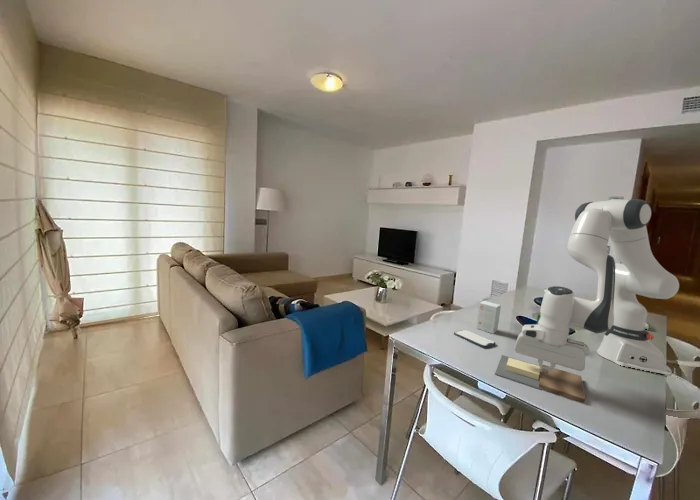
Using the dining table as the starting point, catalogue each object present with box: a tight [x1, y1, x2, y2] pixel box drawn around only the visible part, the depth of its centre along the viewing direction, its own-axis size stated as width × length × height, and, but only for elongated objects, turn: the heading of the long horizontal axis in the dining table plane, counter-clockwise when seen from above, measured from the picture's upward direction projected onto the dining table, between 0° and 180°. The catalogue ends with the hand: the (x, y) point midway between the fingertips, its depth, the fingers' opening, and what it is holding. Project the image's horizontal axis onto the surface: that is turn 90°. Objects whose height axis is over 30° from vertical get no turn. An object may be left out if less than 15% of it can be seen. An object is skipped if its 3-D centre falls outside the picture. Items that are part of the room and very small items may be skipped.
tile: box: [506, 357, 540, 380], centre depth 109 cm, size 10×7×2 cm
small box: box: [475, 300, 502, 334], centre depth 147 cm, size 8×6×13 cm
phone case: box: [453, 329, 497, 349], centre depth 135 cm, size 9×2×16 cm
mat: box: [494, 354, 543, 391], centre depth 109 cm, size 14×18×1 cm
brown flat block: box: [539, 364, 586, 404], centre depth 103 cm, size 12×17×2 cm
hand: (544, 372), depth 105 cm, fingers closed
